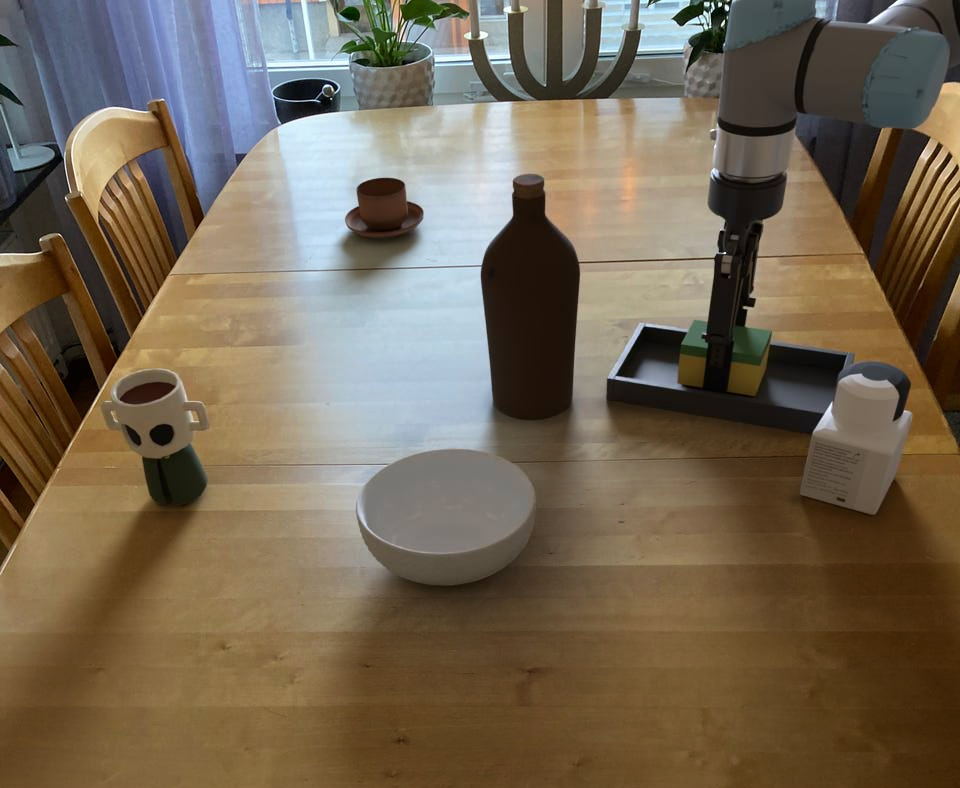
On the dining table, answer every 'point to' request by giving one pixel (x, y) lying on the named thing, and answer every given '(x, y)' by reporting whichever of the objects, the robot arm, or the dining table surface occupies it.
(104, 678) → the dining table surface
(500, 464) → the cereal bowl
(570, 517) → the dining table surface
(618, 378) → the tray
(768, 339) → the sponge
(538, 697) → the dining table surface
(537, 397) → the olive oil
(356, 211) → the cup and saucer
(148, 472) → the character mug
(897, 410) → the container
